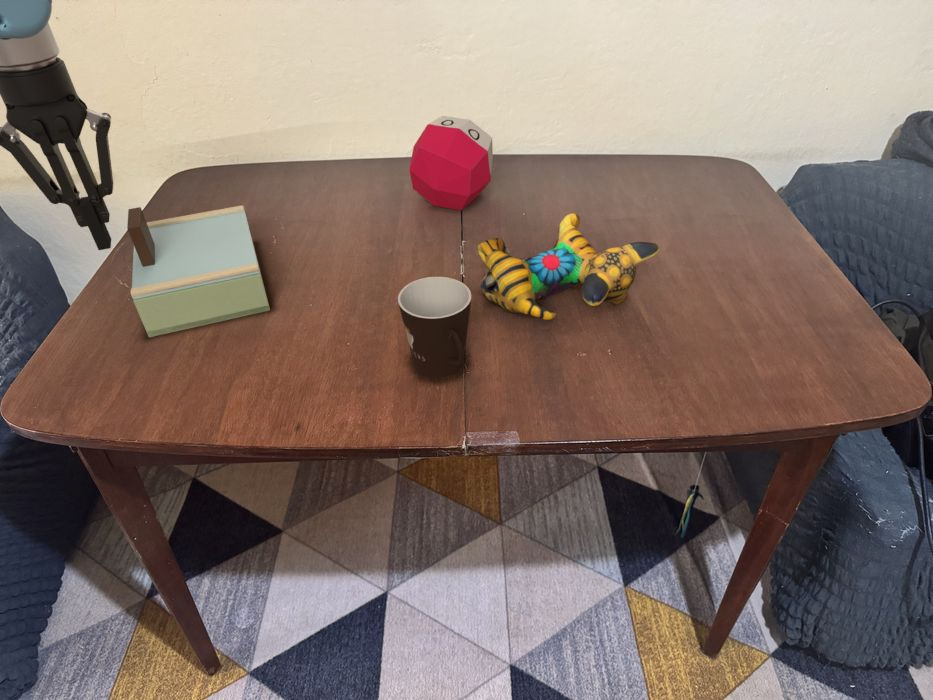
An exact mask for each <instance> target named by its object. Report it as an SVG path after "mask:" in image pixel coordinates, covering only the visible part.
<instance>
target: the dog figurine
mask: <svg viewBox="0 0 933 700" xmlns="http://www.w3.org/2000/svg"><path fill="white" fill-rule="evenodd" d="M580 223H581V218H580V215H578V214H577V213H568V214H567V215H565V216H564V218H563V219H562V220H561V221H560V223H559V227H558V237H557V240H556V242H555V244H554V245H553V247H552V249H549V250H546V251H541V252H540V253H537V254H536V255H534V256H533V257H531V256H530V257H526V258H523V259H521V258H518V257H514V256H511V253H510V251H509V247H507V246H506V243H505V241H504V240H503V239H501V238H500V237H495V238H490V239H486V240H484V241H482V242H480V243H479V244H478V245H477V248H476V249H477V251H478V255H479V258H480V259H481V260H482V262H483V264H484V265H485V266H486V267H487V269H489V271H488V272H487V273H486V274H485V275H484V276H483V278H482V280H481V283H480V287H479V288H480V291H482V293H483V295H484V297H485V298H486V299H487V300H488V301H489V302H491V303H493V304H495V305H498V306H500V307H501V308H502V309H503V310H504V311H507V312H509V313H515V314H524V315H529V316H532V317H535V318H539V319H542V320H544V321H551V320H554V319H555V318H556V317H557V314H556V311H553V310H551V309H547V308H544V307H543V306H541V305H539V304H538V303H537V302H539V301H540V300H541V301H542V300H544V299H547V298H549V297H550V296H551V297H552V296H553V295H555V294H557V293H560V292H562V291H564V290H566V289H568V288H570V287H577V286H582V287H581V296H582V299H583V301H584V302H585V303H586V304H587V305H589V306H590V307H595V306H599V305H600V304H601V303H603V302H609V303H611V304H613V305H614V306H618V305H619V304H621V303H624V302H625V300H626V299H627V298H628V296H629V293H628V291H629V290H630V289H631V287H632V286H633V284H634V282H635V280H636V273H637V265H638V264H639V263H641V262H643V261H645V260H648V259H650V258H652V257H655V256H656V255H657V254H658V253H659V251H660V246H659V244H658V243H656V242H655V243H654V242H648V241H633V242H629V243H628V244H625V245H622V246H615V247H610V248H607V249H604V250H603V251H601V252H599V253H597V251H596V250H595V248H594V247H593V246H592V243H590V242H589V241H588V240H587V238H585V236H584V234H583V233H582V232H581V231H579V229H578V227H579V226H580Z"/></svg>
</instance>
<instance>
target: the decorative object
mask: <svg viewBox="0 0 933 700" xmlns="http://www.w3.org/2000/svg"><path fill="white" fill-rule="evenodd" d="M493 154H494V151H493V137H492V136H491V135H490V134H488V132H487V131H485V130H484V129H482V128H481V127H480V126H479V125H477V124H476V123H475V122H474V121H473V120H471V119H468V118H461V117H454V116H448V115H441V116H440V117H438V118H436V119H434V120H433V121H431V122H429V123H428V124H427V125H426V126H425V128H424V129H423V131H422V132H421V133H420V135H419V137H418V139H417V140H416V142H415V143H414V145H413V148H412V153H411V159H410V164H409V171H408V172H409V175H410V180H411V185H412V189H413V190H414V191H415V192H416V193H418V195H420V196H422V198H424V199H425V200H426V201H427V202H429V203H430V204H431V205H432V206H434V207H438V208H444V209H450V210H455V211H463V209H465V208H466V207H467V206H469V204H471V203H472V202H473V201H475V200H476V199H477V198H478V196H480V194H481V193H482V192H483V191H484V189H485V188H486V187H487V186H488V185H489V183H490V182H491V180H492V171H493V170H492V169H493V160H494V155H493Z"/></svg>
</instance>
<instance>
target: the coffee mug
mask: <svg viewBox="0 0 933 700" xmlns="http://www.w3.org/2000/svg"><path fill="white" fill-rule="evenodd" d="M397 304H398V307H399V312H400V315H401V319H402V323H403V328H404V331H405V335H406V339H407V343H408V347H409V351H410V354H411V359H412V363H413V366H414V368H415V370H416V372H417V373H418V374H419V375H421V376H424V377H425V378H431V379H446V378H450V377H452V376H454V375H455V374H457V373H458V372H460V371H461V370H462V369H463V367H464V364H465V356H466V349H467V347H466V346H467V339H468V330H469V329H468V328H469V323H470V322H469V321H470V312H471V304H472V291H471V290H470V288H469V287H468V286H467V285H466V284H465V283H464V282H462V281H460V280H458V279H455V278H452V277H446V276H428V277H422V278H419V279H416V280H414V281H411V282H409V283H408V284H406V285H404V287H403V288H402V289H401V290H400V291H399V293H398V295H397Z"/></svg>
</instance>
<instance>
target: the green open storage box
mask: <svg viewBox="0 0 933 700" xmlns="http://www.w3.org/2000/svg"><path fill="white" fill-rule="evenodd" d="M246 218H247V216H246ZM247 219H248V218H247ZM247 222H248V220H247ZM248 223H249V222H248ZM248 226H249V224H248ZM249 227H250V226H249ZM249 230H250V234H251V238H252V242H253V246H254V250H255V254H256V258H257V262H258V266H259V270H260V273H258V274H253V275H249V276H244V277H239V278H234V279H229V280H225V281H220V282H215V283H210V284H205V285H201V286H196V287H191V288H186V289H181V290H177V291H172V292H167V293H162V294H158V295H153V296H148V297H143V298H138V299H134V300H133V299H132V300H133V304H134V306H135V309H136V311H137V313H138V316H139V317H140V320H141V323H142V325H143V328H144V329H145V331H146V334H147V336H148V338H153V337H156V336H162V335H167V334H170V333H176V332H179V331H183V330H189V329H193V328H198V327H202V326H206V325H211V324H216V323H220V322H224V321H228V320H229V321H230V320H233V319H237V318H241V317H246V316H251V315H255V314H256V315H257V314H260V313H264V312H269V311H271V308H270V304H269V300H268V295H267V293H266V287H265V284H264V280H263V277H262V272H261V267H260V264H259V260H258V256H257V253H256V249H255V244H254V240H253V236H252V233H251V229H250V228H249Z"/></svg>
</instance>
